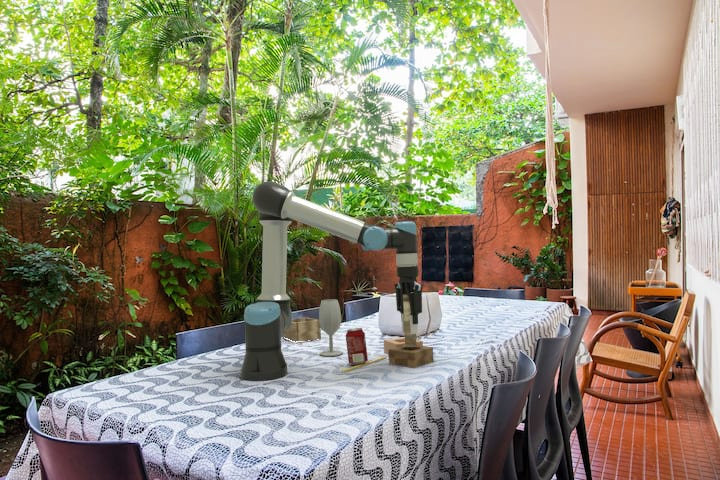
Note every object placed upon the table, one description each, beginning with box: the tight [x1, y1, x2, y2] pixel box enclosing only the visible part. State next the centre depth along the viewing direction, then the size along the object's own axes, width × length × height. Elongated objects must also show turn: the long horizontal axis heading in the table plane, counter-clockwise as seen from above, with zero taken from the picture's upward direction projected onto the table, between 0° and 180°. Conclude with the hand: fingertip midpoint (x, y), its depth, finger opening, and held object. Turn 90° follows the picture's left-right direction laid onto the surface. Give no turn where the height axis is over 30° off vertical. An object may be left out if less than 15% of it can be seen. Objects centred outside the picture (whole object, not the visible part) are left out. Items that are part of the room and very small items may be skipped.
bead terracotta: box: [383, 336, 424, 356], centre depth 191 cm, size 11×11×5 cm
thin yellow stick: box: [340, 356, 387, 373], centre depth 175 cm, size 24×1×1 cm, turn 142°
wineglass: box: [318, 299, 344, 357], centre depth 195 cm, size 9×9×21 cm
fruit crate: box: [282, 316, 322, 342], centre depth 230 cm, size 13×14×9 cm
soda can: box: [345, 327, 369, 366], centre depth 176 cm, size 7×7×12 cm
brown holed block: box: [388, 345, 434, 369], centre depth 175 cm, size 11×11×5 cm
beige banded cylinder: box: [403, 294, 417, 347], centre depth 176 cm, size 4×4×18 cm
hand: (410, 332), depth 176 cm, fingers closed on beige banded cylinder, 4 cm apart
